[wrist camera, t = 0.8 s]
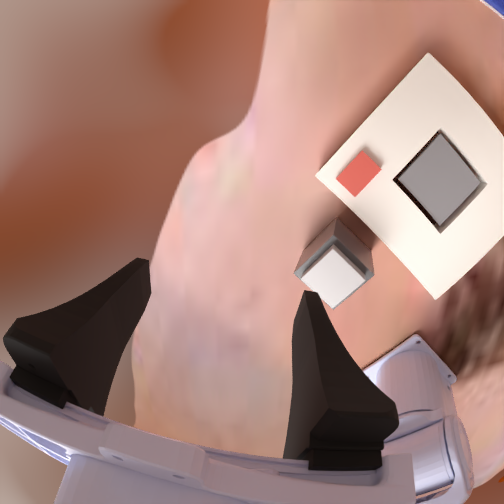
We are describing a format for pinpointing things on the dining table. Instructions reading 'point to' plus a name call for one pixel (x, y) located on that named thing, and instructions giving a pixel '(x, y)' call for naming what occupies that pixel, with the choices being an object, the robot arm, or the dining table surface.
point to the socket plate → (397, 157)
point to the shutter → (439, 179)
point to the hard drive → (495, 6)
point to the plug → (335, 264)
